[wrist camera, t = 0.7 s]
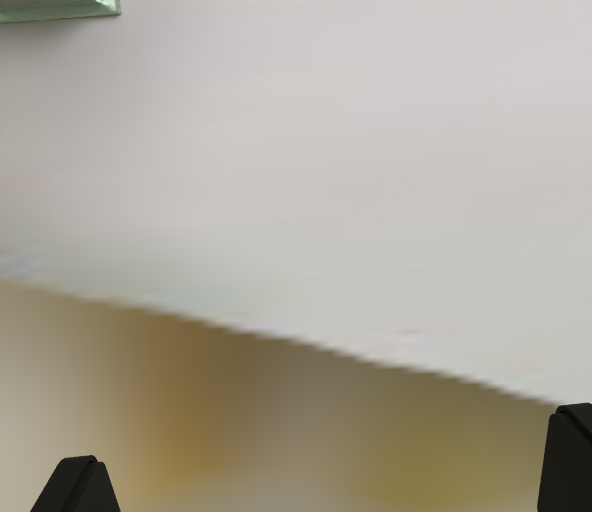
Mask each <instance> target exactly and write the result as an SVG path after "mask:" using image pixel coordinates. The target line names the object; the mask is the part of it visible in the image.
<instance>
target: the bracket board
mask: <svg viewBox="0 0 592 512" xmlns="http://www.w3.org/2000/svg"><path fill="white" fill-rule="evenodd" d="M117 14H121V8H120V3H119V0H0V23H10V22H23V21H36V20H50V19H63V18H77V17H90V16H104V15H117Z"/></svg>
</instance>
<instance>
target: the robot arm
mask: <svg viewBox="0 0 592 512" xmlns="http://www.w3.org/2000/svg"><path fill="white" fill-rule="evenodd" d="M537 510H538V512H592V404H590V403H580V404H571V405H562V406H559V407H558V408H557V410H556V413H555V414H552V415H551V416H550V418H549V424H548V431H547V439H546V446H545V454H544V460H543V467H542V475H541V483H540V489H539V497H538V504H537ZM30 512H121V511H120V508H119V505H118V502H117V499H116V496H115V493H114V490H113V487H112V484H111V481H110V478H109V475H108V472H107V469H106V466H105V464H104V463H103V462H98V461H97V459H96V457H95V456H93V455H89V456H79V457H70V458H64V459H63V460H61V461H60V462H59V464H58V465H57V467H56V469H55V470H54V472H53V474H52V475H51V477H50V479H49V480H48V482H47V484H46V486H45V487H44V489H43V491H42V492H41V494H40V496H39V498H38V499H37V501H36V503H35V504H34V506H33V508H32V509H31V511H30Z"/></svg>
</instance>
